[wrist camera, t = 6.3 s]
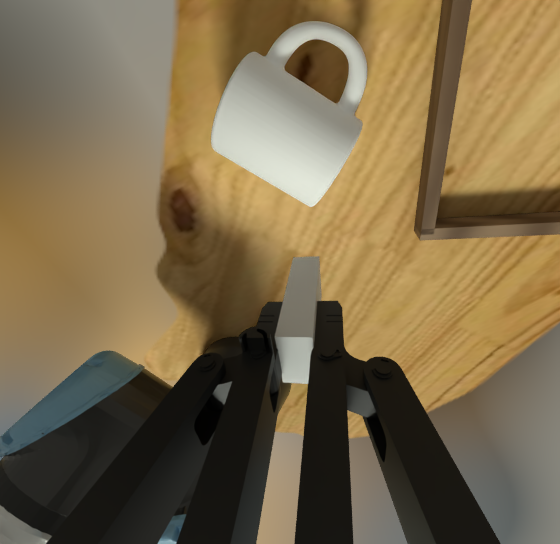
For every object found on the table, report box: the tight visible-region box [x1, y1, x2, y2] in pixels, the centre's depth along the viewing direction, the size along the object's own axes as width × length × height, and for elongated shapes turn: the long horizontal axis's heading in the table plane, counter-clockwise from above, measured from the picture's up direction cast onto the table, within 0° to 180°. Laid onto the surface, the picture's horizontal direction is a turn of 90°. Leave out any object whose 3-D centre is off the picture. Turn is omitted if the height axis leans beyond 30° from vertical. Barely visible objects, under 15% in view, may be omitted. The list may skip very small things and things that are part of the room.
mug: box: [211, 21, 367, 207], centre depth 23 cm, size 12×10×8 cm
